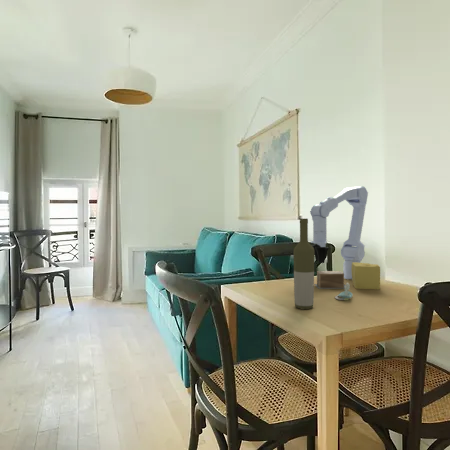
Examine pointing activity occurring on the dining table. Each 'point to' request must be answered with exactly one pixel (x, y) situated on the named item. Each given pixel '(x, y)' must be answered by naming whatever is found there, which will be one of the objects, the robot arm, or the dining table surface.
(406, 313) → the dining table surface
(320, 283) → the walnut cover
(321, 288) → the mat
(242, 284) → the dining table surface
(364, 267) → the cheese
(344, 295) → the pacifier
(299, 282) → the bottle
